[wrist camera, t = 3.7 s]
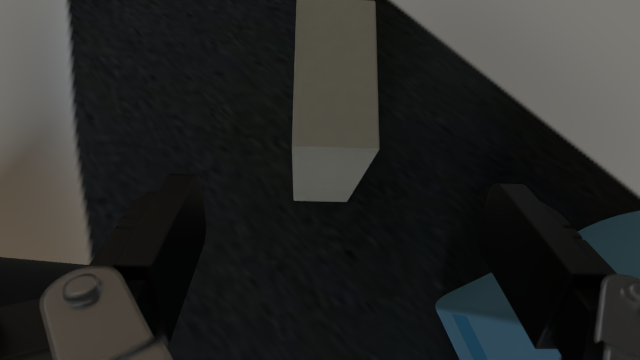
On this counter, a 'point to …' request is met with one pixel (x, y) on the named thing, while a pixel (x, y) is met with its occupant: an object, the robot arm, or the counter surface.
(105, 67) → the counter surface
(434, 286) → the counter surface
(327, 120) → the beige block
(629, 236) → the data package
